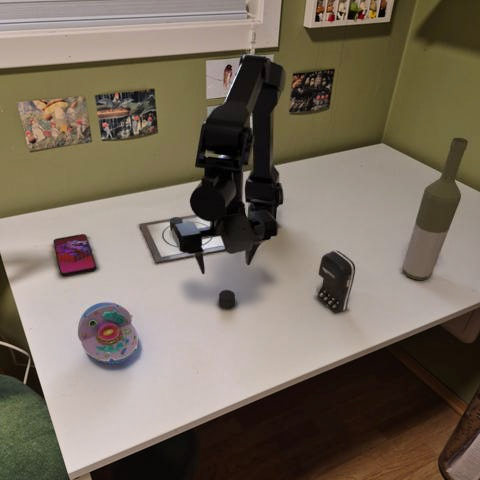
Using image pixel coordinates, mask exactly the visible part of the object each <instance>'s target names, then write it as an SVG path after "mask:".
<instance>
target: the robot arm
mask: <svg viewBox="0 0 480 480" xmlns="http://www.w3.org/2000/svg"><path fill="white" fill-rule="evenodd" d="M286 78H287V73H286V70H285V69H284V66H283V65H281V64H278V63H276V62H274V61H272V60H271V58H270V57H267V56H266V55H258V54H257V55H256V54H245V53H244V55H240V59H239V63H238V70H237V73H236V75H235V77H234V79H233V82H232V84H231V86H230V88H229V91H228V93H227V94H226V95H227V96H226V97H225V100H224V102H223V103H222V104H220V105H218V106H215V107H214V108H212V109H211V111H210V112H209V114H208V115H207V117H206V118H205V119H206V120H205V121H203V122H202V124H201V128H200V133H199V139H198V146H197V152H196V155H195V157H196V158H195V162H194V167H195V168H198V169H203V170H204V172H203V176H202V177H201V181H199V183H198V185H197V186H196V187H195V188H194V190H193V191H192V193H191V195H190V198H189V206H190V209H191V210H192V212H193V213H194V214H193V215H196V216H197V217H199V218H200V219H202V220H205V221H209V222H210V226H209V227H203V228H197V227H196V225H195V223H194V222H193V221H192V222H186V223H180V224H175V225H174V227H173V228H172V235H173V239H174V241H175V243H176V245H177V247H178V248H179V250H180V252H184V253H185V252H187V254H193V255H194V256H193V257H194V260H195V261H196V264H197V266H198V269H199V270H200V272H201V274H202V275H205V273H206V272H205V271H206V268H205V267H206V265H205V260H204V254H203V252H204V250H203V248H202V247H201V246H202V239H208V238H214V237H219V236H220V237H221V239H222V242H223V244H224V247H225V252H226V253H228V254H230V255H233V254H236V253H241V252H244V259H245V264H246V265H247V266H250V265H251V263H252V261H253V259H254V257H255V254H256V253H257V251H258V250H259V247H260V246H261V244H264V242H267V241H270V240H271V239H272V238H274V237H277V236H278V234H279V225H280V224H279V223H278V221H277V216H278V215H277V213H278V208H280V206H281V205H283V204H284V197H285V195H284V189H283V185H282V183H281V182H280V172H279V170H277V169H278V168H277V167H275V165H274V125H275V123H274V122H275V121H274V120H275V119H274V117H275V108H276V106H278V104H279V100H280V98H281V95H282V94H283V93H284V91H285V85H286V80H287V79H286ZM251 125H252V127H251ZM206 153H208V154H211V155H218V156H210V155H206ZM251 157H252V168H251V169H250V171H249V174H248V177H247V178H246V179H245V183H244V172H245V170H246V167H247V166H248V167H249V165H250V161H251ZM243 196H244V197H243ZM243 198H244V200H243ZM244 201H245V202H244ZM247 203H248V204H249V205H248V206H247V213H246V204H247Z"/></svg>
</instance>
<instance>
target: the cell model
mask: <svg viewBox="0 0 480 480" xmlns="http://www.w3.org/2000/svg"><path fill="white" fill-rule="evenodd" d="M132 319H133V314H131V313H130V312H129V310H128V309H127V308H125V307H124V306H122V305H120V304H117V303H115V302H111V301H104V302H103V301H102V302H97V303H95V304H93V305H91V306H89V307H88V308H87V309H86V310H84V312H83V313H82V314H81V316H80V318H79V321H78V325H77V338H78V339H79V341H80V344H81V347H82V349H83V350H84V351H85V353H87V354H88V355H89V356H90V357H91V358H93V359H94V360H97V361H99V362H100V363H104V364H118V363H122V362H124V361H127V359H129V358H130V357H131V356H132V355H133V354H134V353H135V352H136V351H137V350H138V347H137V346H138V343H139V333H138V330H137V328H136V327H135V325H134V324H132V321H133V320H132Z"/></svg>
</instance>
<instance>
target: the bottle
mask: <svg viewBox="0 0 480 480" xmlns="http://www.w3.org/2000/svg"><path fill="white" fill-rule="evenodd" d="M468 143H469V141H468V139H466V138H463V137H453V138H452V141H451V142H450V146H449V149H448V150H449V151H448V154H447V155H446V156H447V157H446V159H445V160H446V161H445V163H444V166H443V169H442V172H441V175H440V176H439V178H438V179H436V180H434V181H433V182H432V183H430V184H428V185H427V186H426V187H425V188H424V190H423V194H422V197H421V200H420V204H419V207H418V211H417V215H416V218H415V222H414V225H413V228H412V233H411V236H410V240H409V243H408V246H407V249H406V253H405V257H404V260H403V264H402V272H403V274H404V275H405V276H406V277H408V278H410V279H413V280H418V281H424V280H428V279H429V278H430V277H431V276H432V274H433V273H434V270H435V267H436V264H437V262H438V259H439V257H440V254H441V251H442V248H443V247H444V243H445V242H446V238H447V235H448V233H449V230H450V228H451V225H452V222H453V221H454V217H455V215H456V213H457V210H458V207H459V205H460V202H461V199H462V193H461V190H460V187H459V186H458V185H457V182H456V178H457V175H458V171H459V169H460V166H461V163H462V159H463V157H464V155H465V151H466V150H467V147H468Z"/></svg>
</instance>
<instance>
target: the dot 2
mask: <svg viewBox="0 0 480 480" xmlns="http://www.w3.org/2000/svg"><path fill="white" fill-rule="evenodd" d="M218 305H219V307H220V308H221V309H224V310H231V309H233V308H234V307H235V305H236V294H235V292H234V291H232V290H230V289H224V290H222V291H220V292H219V293H218Z"/></svg>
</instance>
